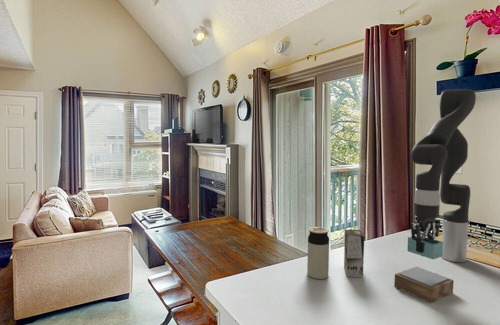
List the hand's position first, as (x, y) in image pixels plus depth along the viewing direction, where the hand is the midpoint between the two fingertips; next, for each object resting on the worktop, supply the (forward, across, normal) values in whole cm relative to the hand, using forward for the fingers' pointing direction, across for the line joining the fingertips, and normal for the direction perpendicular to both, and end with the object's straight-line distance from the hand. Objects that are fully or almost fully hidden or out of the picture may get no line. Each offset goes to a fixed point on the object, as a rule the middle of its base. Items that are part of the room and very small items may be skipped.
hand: (424, 250), depth 106 cm
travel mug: (+14, -24, +27) cm, 39 cm away
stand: (+14, 0, 0) cm, 14 cm away
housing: (+1, 0, 0) cm, 1 cm away
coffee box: (+14, -10, +22) cm, 28 cm away
